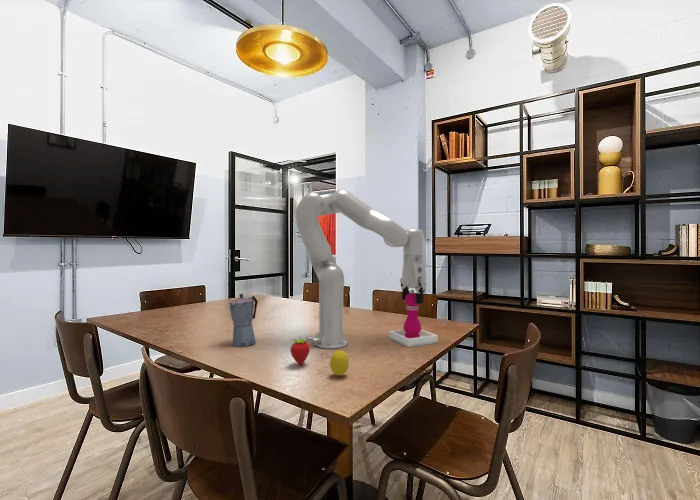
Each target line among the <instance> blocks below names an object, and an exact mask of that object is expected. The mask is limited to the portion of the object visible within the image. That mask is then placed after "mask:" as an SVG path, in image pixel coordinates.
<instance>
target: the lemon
mask: <svg viewBox="0 0 700 500" xmlns="http://www.w3.org/2000/svg"><path fill="white" fill-rule="evenodd" d="M331 354H332V355H331V357H330V361H329V365H330V370H331V371H332V373H333V374H335V375H337V376H338V377H341V376H342V375H344V374H345V373H346V372H347V370H349V363H350V362H349V357H348V354H347V353H346V352H345V351H344V350H341V349H338V350H336V351H334V352H333V353H331Z"/></svg>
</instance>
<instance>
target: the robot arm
mask: <svg viewBox="0 0 700 500" xmlns="http://www.w3.org/2000/svg"><path fill="white" fill-rule="evenodd" d="M340 213H341V214H342V215H344V216H345V217H347V219H349V220H350V221H352V222H354V223H355V224H356V225H358V226H359V227H361V228H362V229H366V230H368V231H370V232H373V233H376V234H377V235H379V236H380V237H382V240H383V242H384V244H385V245H386V246H388V247H390V248H402V247H403V250H402V251H403V254H402V257H403V258H402V259H403V260H402V264H403V265H402V272H401V273H402V274H401V278H400V279H399V282H400V287H401V293H402V294H401V298H402V299H401V300H402V301H405V297H406V296H407V295H408V294H410V290H409V289H410V288H411V289H414V291H415V294H416V304H418V305H419V304H422V305H423V304H424V294H425V291H426V288H427V284H428V283H427V282H426V279H425V268H424V267H425V266H424V263H423V231H422V229H418V228H408V229H407V228H406V229H404V228H403V227H402V226H401V225H400V224H398V223H397V222H395V221H394V220H392V219H391V218H390V217H388V216H385V215H384V214H383V213H381V212H379V211H377V210H376V209H374V208H372V207H371V206H369V205H368V204H367V203H366V202H364V201H362V200H361V199H359V197H357V196H355V195H354V194H353V193H351V192H350V191H348V190H347V189H343V188H342V189H337V190H336V191H334V192H332V193H325V194H320V193H317V192H314V191H312V192H311V191H310V192H307V193H306V194H305V195H304V196H303V197H302V198H301V199H300V201H299V202H298V205H297V207H296V210H295V224H296V228H297V229H298V233H299V235H300V238H301V240H302V242H303V245H304V246H305V249H306V255H307V257H308V260H309V261H310V264H311V266H312V268H313V270H314V272H315V274H316V276H317V278H318V280H319V282H318V283H319V287H318V289H319V290H318V305H319V307H318V310H319V311H318V313H319V314H318V317H319V319H318V320H319V321H318V323H319V324H318V325H319V326H318V327H319V330H318V332H317V333H316V334H315V335H310V336H309V335H308V336H307V337H306V339H307V340H306V341H308V342H312V343H315V346H316V347H318V348H321V349H329V350H331V349H332V350H333V349H341V348H344V347H346V346H348V340H347V339H346V338H344V327H345V326H344V289H345V275H344V271H343V269H342V268H341V267H340V266H339V265H338V264H337V262H336V259H335V258H334V255H333V253H332V247H331V246H330V245H331V244H330V243H329V242H328V240H327V238H326V236H325V234H324V232H323V230H322V227H321V225H320V222H319V216H326V215H327V216H328V215H334V214H340ZM308 342H307V343H308Z"/></svg>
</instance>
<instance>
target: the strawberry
mask: <svg viewBox="0 0 700 500" xmlns="http://www.w3.org/2000/svg"><path fill="white" fill-rule="evenodd" d="M306 339H307V338H304V339H302V337H300V339H294V342H293V344H292V345H291V346H290V353H291V357H292V358H293V359H294V361H295V362H296V363H297V364H298V365H299V366H300V367H301V366H303V365H304V363H305V361H306V360H307V357H308V356H309V354H310V349H311V347H310V344H309V343H308V340H306Z"/></svg>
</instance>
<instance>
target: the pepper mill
mask: <svg viewBox="0 0 700 500" xmlns="http://www.w3.org/2000/svg"><path fill="white" fill-rule="evenodd" d="M416 294H417V293H415V289H410V290H409V294H408V295H407V296H406V297H405V300H404V303H405V304H406V305H405V309H406V312H407V313H406V314H407V316H406V319H405V321H404V323H403V329H404V331H405V332H406V333H405V337H406V338H408V339H410V338H417V337H420V334H419V332H420V331H421V330H422V325H421V324H422V323H421V322H420V320H419V316H418V311H419V304H416ZM403 329H402V330H403Z"/></svg>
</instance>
